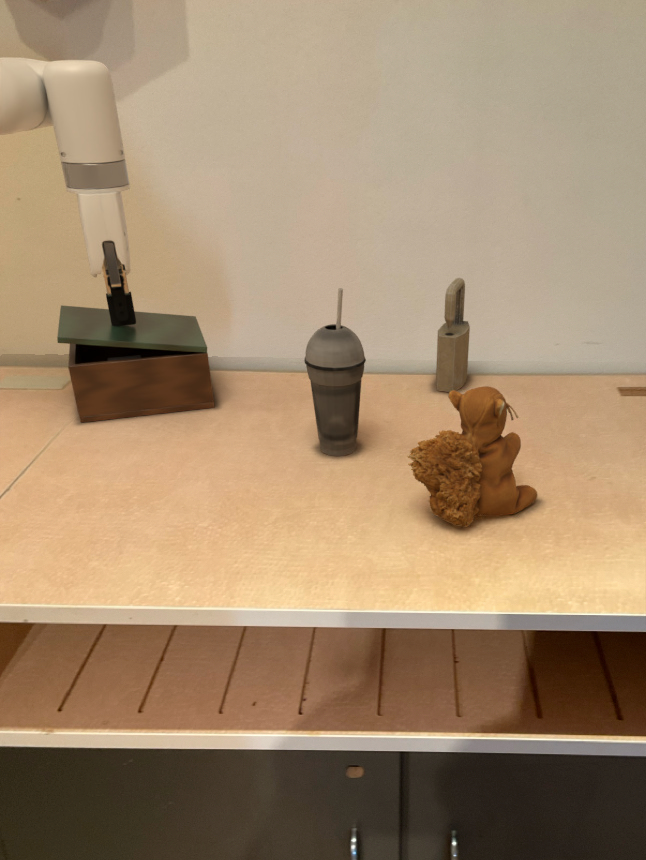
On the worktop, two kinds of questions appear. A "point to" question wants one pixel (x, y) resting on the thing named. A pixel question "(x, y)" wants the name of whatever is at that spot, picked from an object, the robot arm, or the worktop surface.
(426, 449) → the stuffed squirrel
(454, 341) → the padlock
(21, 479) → the worktop surface
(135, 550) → the worktop surface
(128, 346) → the lid
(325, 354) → the beverage cup
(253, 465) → the worktop surface
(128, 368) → the chest
